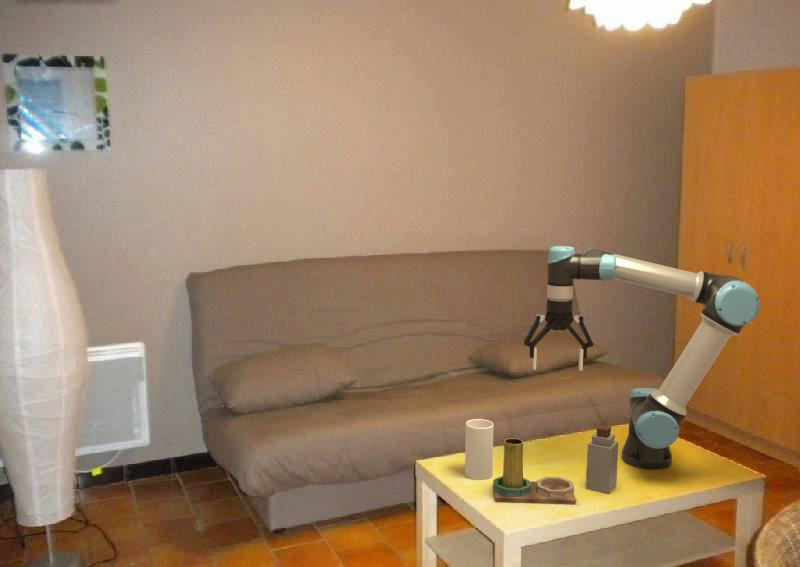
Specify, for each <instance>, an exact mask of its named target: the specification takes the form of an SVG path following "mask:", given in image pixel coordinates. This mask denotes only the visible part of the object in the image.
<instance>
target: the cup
mask: <svg viewBox="0 0 800 567" xmlns="http://www.w3.org/2000/svg"><path fill="white" fill-rule="evenodd" d="M464 448H465V451H464V452H465V453H464V454H465V455H464V456H465V457H464V458H465V460H464V463H465V465H464V476H466V477H467V478H469V479H471V480H475V481H484V480H488V479H490V478H492V477H493V474H494V473H493V469H494V468H493V467H494V464H493V463H494V422H493V421H491V420H489V419H488V420H487V419H483V418H473V419H469V420H467V421H466V422H465V447H464Z"/></svg>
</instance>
